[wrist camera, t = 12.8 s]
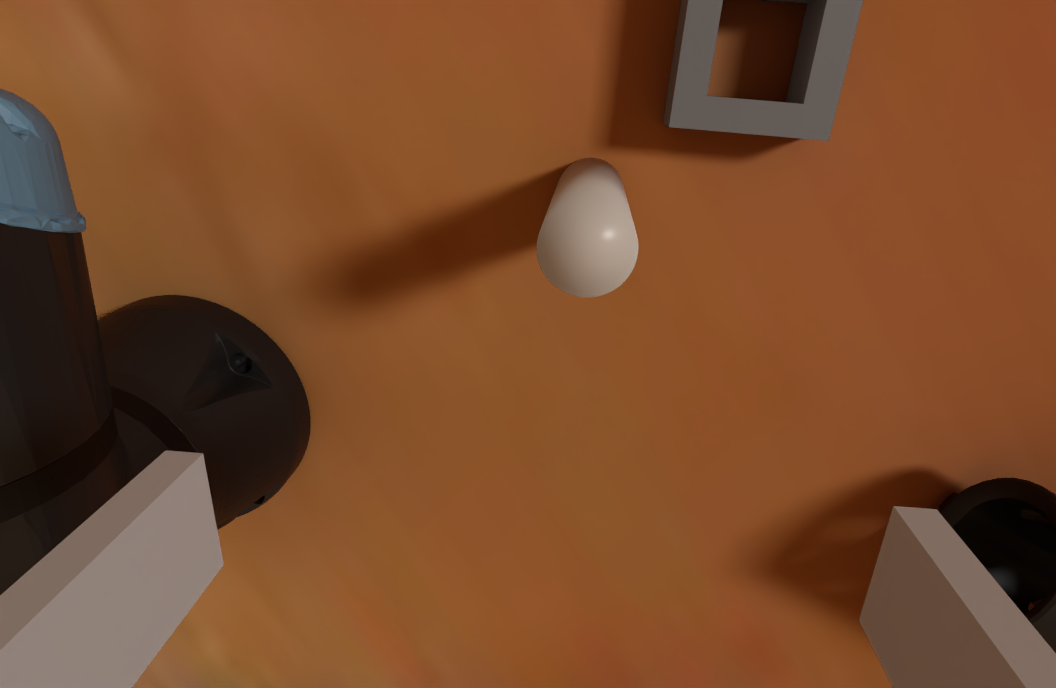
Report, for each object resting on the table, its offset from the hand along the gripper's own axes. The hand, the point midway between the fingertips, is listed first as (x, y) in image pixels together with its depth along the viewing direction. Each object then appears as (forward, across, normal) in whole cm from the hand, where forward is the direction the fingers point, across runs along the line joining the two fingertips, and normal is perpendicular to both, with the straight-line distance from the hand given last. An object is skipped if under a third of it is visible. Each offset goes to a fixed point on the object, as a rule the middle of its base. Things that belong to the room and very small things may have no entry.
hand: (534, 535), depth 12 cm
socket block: (+25, -8, -10) cm, 28 cm away
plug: (+25, -1, -3) cm, 25 cm away
